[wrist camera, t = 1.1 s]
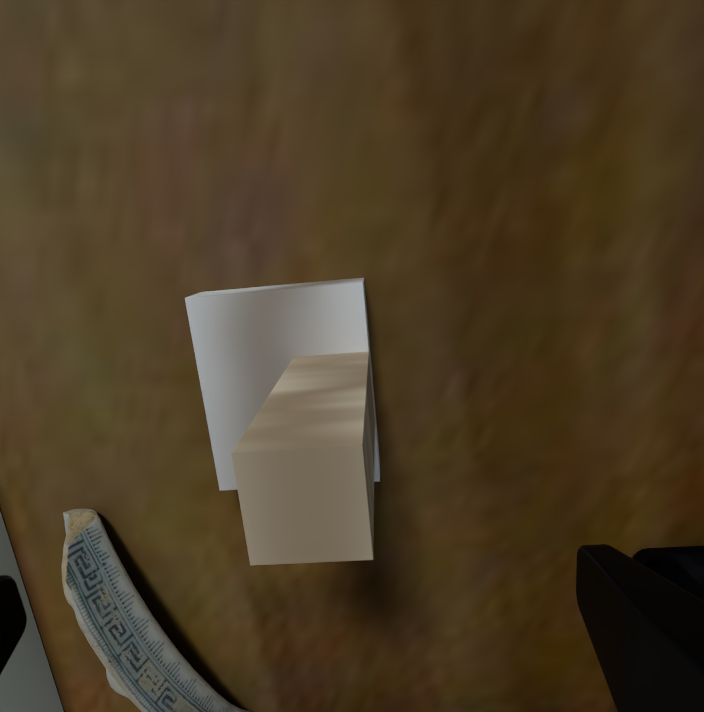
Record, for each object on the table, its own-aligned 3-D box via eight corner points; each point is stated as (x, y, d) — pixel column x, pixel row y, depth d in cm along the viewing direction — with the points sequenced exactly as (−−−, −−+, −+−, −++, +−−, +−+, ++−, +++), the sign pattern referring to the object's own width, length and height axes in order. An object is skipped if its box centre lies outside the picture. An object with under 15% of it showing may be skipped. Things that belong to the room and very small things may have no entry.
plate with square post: (364, 277, 17) (350, 326, 8) (379, 460, 18) (382, 650, 10) (202, 291, 17) (36, 352, 9) (232, 469, 19) (118, 658, 11)
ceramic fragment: (274, 727, 23) (254, 824, 19) (183, 761, 23) (146, 860, 20) (111, 485, 20) (49, 542, 16) (14, 532, 21) (-66, 596, 17)
